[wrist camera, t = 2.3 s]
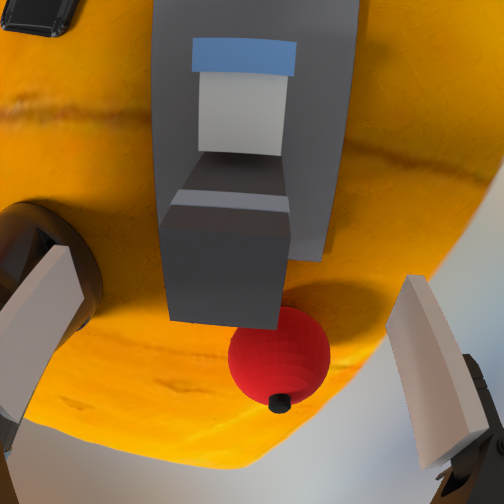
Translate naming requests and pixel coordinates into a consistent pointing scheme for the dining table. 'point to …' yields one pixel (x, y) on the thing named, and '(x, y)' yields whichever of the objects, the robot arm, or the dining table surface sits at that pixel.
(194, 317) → the plug
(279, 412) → the ornament
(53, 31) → the phone
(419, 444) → the robot arm
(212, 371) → the dining table surface
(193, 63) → the grey plate with blocks
